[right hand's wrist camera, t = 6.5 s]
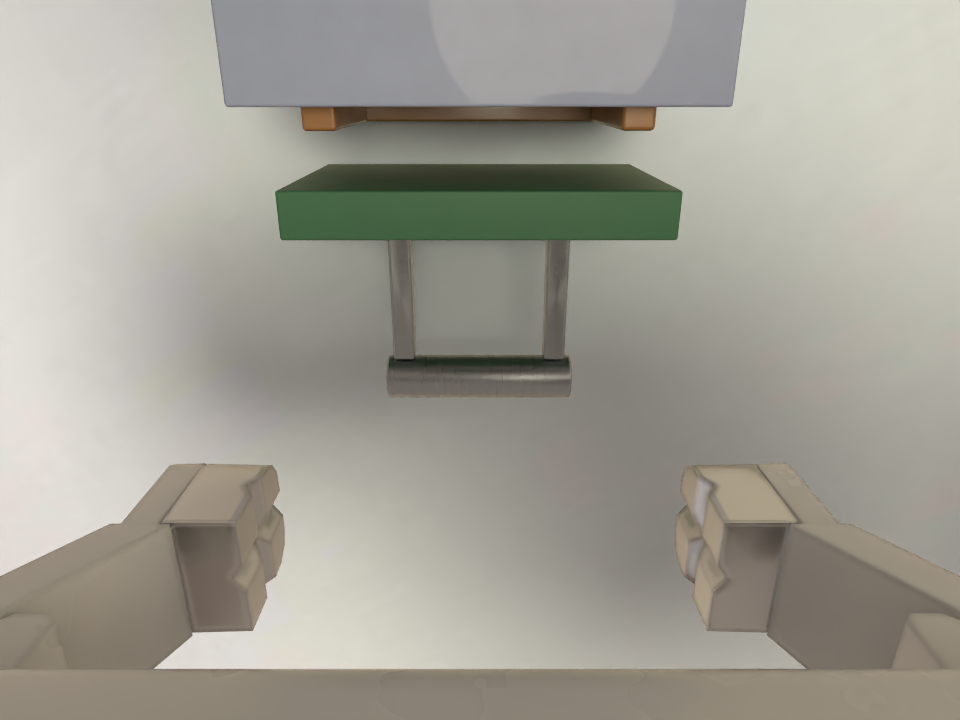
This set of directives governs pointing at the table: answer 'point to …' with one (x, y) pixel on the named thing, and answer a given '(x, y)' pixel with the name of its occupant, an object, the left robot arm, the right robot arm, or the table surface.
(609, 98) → the cabinet
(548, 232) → the drawer
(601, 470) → the table surface
